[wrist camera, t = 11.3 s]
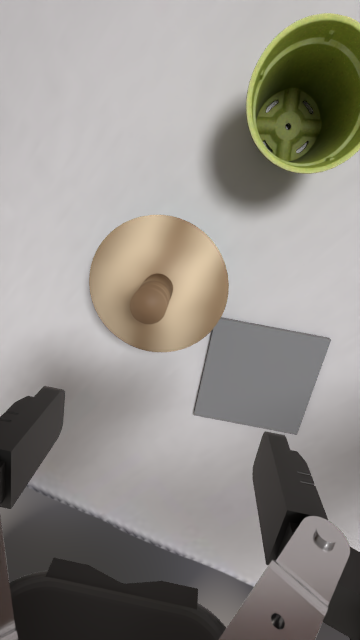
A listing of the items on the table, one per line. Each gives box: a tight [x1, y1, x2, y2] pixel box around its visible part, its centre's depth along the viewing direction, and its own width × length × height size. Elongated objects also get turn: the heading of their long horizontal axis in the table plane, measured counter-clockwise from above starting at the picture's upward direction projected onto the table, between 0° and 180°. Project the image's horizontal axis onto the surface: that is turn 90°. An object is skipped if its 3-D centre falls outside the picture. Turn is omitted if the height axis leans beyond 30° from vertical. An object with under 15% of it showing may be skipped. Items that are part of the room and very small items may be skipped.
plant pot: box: [246, 13, 360, 174], centre depth 27 cm, size 9×9×9 cm
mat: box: [194, 317, 331, 435], centre depth 39 cm, size 13×13×1 cm
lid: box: [89, 215, 229, 352], centre depth 28 cm, size 13×13×7 cm
